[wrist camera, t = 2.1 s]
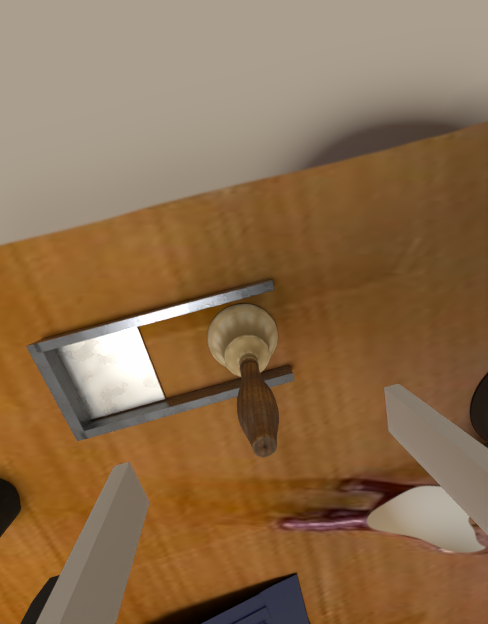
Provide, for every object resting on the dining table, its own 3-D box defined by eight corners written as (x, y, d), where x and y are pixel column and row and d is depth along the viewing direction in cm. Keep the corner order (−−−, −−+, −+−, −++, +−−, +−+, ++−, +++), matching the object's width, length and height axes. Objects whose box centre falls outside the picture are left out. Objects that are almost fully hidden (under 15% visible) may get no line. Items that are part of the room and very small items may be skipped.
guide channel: (289, 372, 29) (294, 380, 27) (87, 428, 28) (77, 441, 26) (268, 278, 26) (272, 280, 24) (41, 339, 25) (26, 346, 23)
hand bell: (241, 382, 29) (264, 531, 13) (192, 337, 27) (151, 451, 11) (291, 337, 28) (378, 441, 12) (244, 288, 26) (277, 337, 10)
